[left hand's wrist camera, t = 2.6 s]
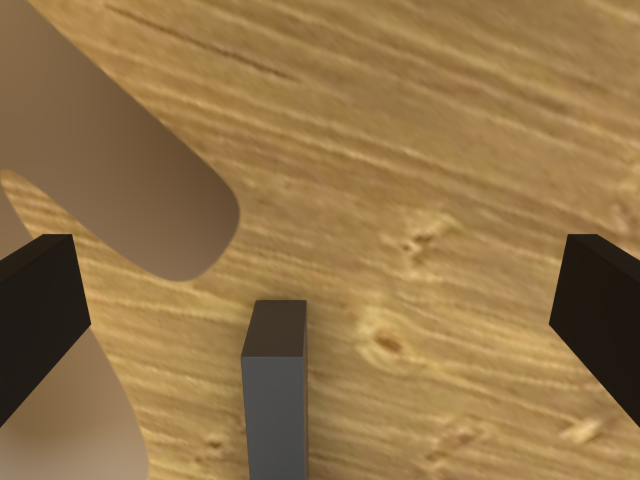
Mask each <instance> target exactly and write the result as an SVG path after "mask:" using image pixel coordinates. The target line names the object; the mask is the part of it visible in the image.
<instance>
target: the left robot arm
mask: <svg viewBox="0 0 640 480" xmlns="http://www.w3.org/2000/svg"><path fill="white" fill-rule="evenodd" d="M90 325H91V321H90V316H89V311H88V307H87V302H86V297H85V293H84V288H83V283H82V279H81V274H80V269H79V265H78V260H77V255H76V250H75V246H74V241H73V236H72V234H43V235H41V236H39V237H38V238H36V239H34V240H33V241H31V242H30V243H28V244H26V245H25V246H23V247H22V248H20V249H18V250H17V251H15V252H13V253H12V254H10V255H9V256H7V257H5V258H4V259H2V260H0V427H1V426H2V425H3V424H4V423H5V422H6V421H7V420H8V418H9V417H10V416H11V415H12V414H13V413H14V412H15V410H16V409H17V408H18V407H19V406H20V405H21V404H22V402H23V401H24V400H25V399H26V398H27V397H28V396H29V394H30V393H31V392H32V391H33V390H34V389H35V388H36V386H37V385H38V384H39V383H40V382H41V381H42V380H43V378H44V377H45V376H46V375H47V374H48V373H49V372H50V371H51V369H52V368H53V367H54V366H55V365H56V364H57V363H58V361H59V360H60V359H61V358H62V357H63V356H64V355H65V353H66V352H67V351H68V350H69V349H70V348H71V347H72V345H73V344H74V343H75V342H76V341H77V340H78V339H79V337H80V336H81V335H82V334H83V333H84V332H85V331H86V330H87V328H88V327H89V326H90ZM549 325H550V326H551V327H552V328H553V330H554V331H555V332H556V333H557V334H558V335H559V336H560V338H561V339H562V340H563V341H564V342H565V343H566V344H567V345H568V347H569V348H570V349H571V350H572V351H573V352H574V353H575V355H576V356H577V357H578V358H579V359H580V360H581V361H582V363H583V364H584V365H585V366H586V367H587V368H588V369H589V371H590V372H591V373H592V374H593V375H594V376H595V377H596V379H597V380H598V381H599V382H600V383H601V384H602V385H603V387H604V388H605V389H606V390H607V391H608V392H609V393H610V394H611V396H612V397H613V398H614V399H615V400H616V401H617V402H618V404H619V405H620V406H621V407H622V408H623V409H624V410H625V412H626V413H627V414H628V415H629V416H630V417H631V418H632V420H633V421H634V422H635V423H636V424H637V425H638V426H639V428H640V260H638V259H636V258H635V257H633V256H631V255H630V254H628V253H627V252H625V251H623V250H622V249H620V248H618V247H617V246H615V245H614V244H612V243H610V242H609V241H607V240H606V239H604V238H602V237H601V236H599V235H597V234H568V236H567V241H566V246H565V250H564V255H563V260H562V265H561V269H560V274H559V279H558V283H557V288H556V293H555V297H554V302H553V307H552V311H551V316H550V321H549Z"/></svg>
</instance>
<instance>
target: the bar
mask: <svg viewBox="0 0 640 480" xmlns="http://www.w3.org/2000/svg"><path fill="white" fill-rule="evenodd" d="M241 367H242V380H243V393H244V406H245V420H246V433H247V446H248V459H249V472H250V480H309V472H308V390H307V308H306V301H256V303H255V306H254V310H253V314H252V317H251V321H250V325H249V328H248V332H247V336H246V340H245V343H244V347H243V351H242V354H241Z"/></svg>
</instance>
